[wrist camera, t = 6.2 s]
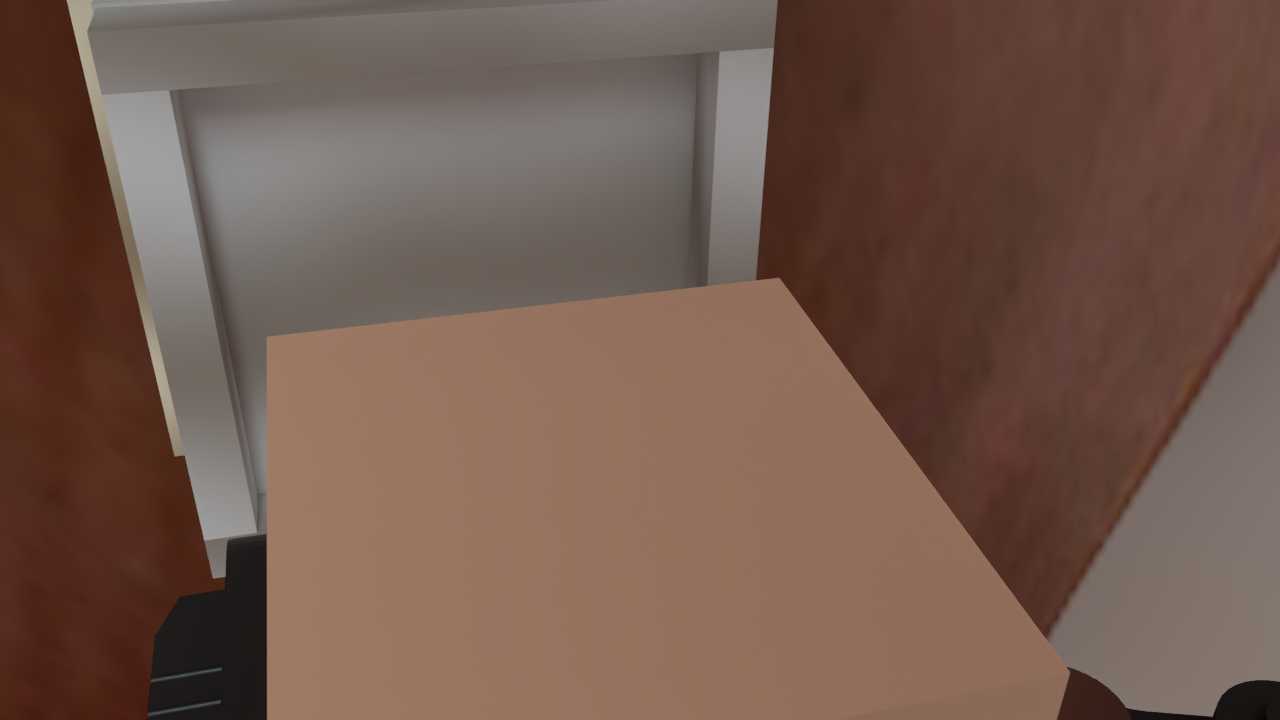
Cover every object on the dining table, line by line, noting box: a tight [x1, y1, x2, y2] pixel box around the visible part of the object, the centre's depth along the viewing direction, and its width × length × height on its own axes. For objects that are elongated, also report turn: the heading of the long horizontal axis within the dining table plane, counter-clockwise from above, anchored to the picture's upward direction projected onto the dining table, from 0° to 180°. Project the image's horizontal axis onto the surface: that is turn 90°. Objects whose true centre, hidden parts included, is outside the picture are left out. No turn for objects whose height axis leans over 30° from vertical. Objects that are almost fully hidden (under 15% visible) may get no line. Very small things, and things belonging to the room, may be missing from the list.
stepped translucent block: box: [67, 0, 778, 579], centre depth 22 cm, size 11×11×9 cm
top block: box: [267, 278, 1070, 720], centre depth 12 cm, size 6×6×6 cm
